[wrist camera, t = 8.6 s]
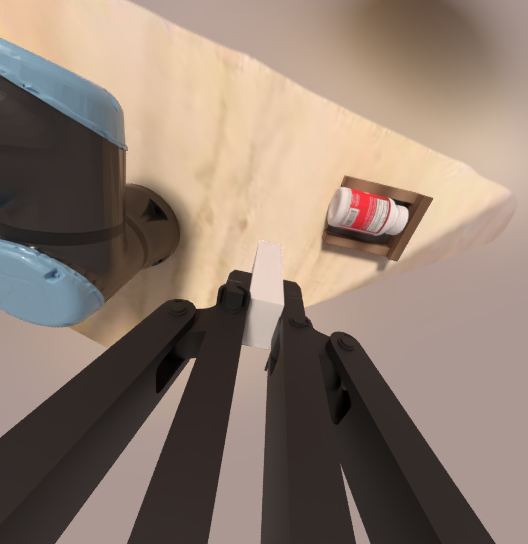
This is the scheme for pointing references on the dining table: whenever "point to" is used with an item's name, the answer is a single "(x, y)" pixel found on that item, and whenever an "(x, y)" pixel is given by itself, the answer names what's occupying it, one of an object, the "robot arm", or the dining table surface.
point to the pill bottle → (366, 213)
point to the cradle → (385, 242)
